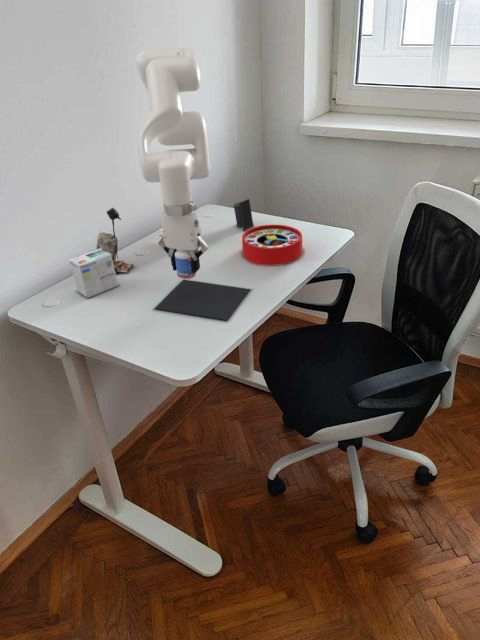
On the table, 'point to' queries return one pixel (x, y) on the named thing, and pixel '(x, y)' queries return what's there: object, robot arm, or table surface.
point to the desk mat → (203, 300)
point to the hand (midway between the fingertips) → (186, 269)
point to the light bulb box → (93, 272)
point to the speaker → (243, 214)
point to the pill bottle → (184, 264)
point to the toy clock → (272, 244)
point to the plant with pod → (112, 244)
